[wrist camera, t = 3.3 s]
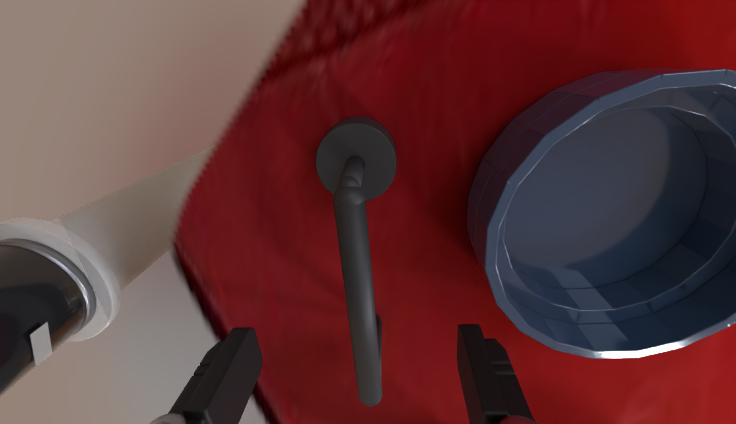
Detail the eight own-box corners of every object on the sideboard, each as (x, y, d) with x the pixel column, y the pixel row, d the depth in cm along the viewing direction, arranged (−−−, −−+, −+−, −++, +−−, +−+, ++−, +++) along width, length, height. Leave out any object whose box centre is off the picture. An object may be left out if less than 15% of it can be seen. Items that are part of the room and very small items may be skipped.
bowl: (461, 305, 24) (478, 361, 20) (469, 81, 18) (496, 87, 14) (686, 298, 23) (759, 356, 19) (772, 56, 17) (912, 53, 13)
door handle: (318, 119, 20) (285, 145, 13) (393, 113, 19) (396, 137, 13) (346, 326, 26) (332, 412, 19) (404, 324, 25) (409, 411, 19)
